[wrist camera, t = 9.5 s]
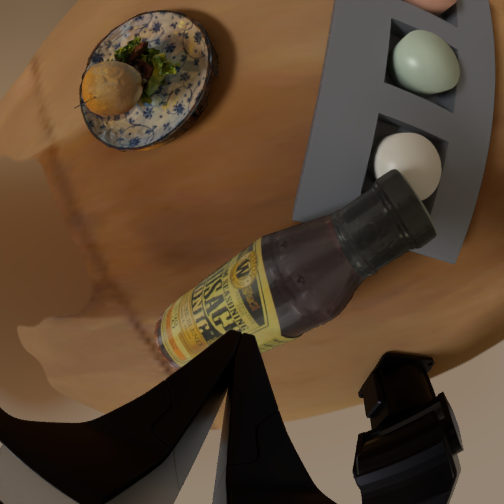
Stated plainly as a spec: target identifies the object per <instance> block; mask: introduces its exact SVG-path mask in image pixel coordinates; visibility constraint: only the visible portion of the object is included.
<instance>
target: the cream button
mask: <svg viewBox="0 0 504 504" xmlns="http://www.w3.org/2000/svg"><path fill="white" fill-rule="evenodd" d="M368 166H369V171H370V174H371V176H372V178H373V179H374V181H376V179H378V178H379V177H381V176H382V175H384V174H385V173H387V172H389V171H390V170H393V169H397V170H398V171H399V172H401V174H403V175H404V177H405V178H406V179H407V181H408V182H409V183H410V185H411V186H412V188H413V189H414V191H415V192H416V194H417V195H418V197H419V198H420V200H421V201H422V200H424V199H426V198H427V197H429V196H430V195H431V194H432V193H433V192H434V191H435V189H436V188H437V186H438V184H439V181H440V177H441V161H440V157H439V154H438V152H437V150H436V148H435V147H434V145H433V144H432V143H431V142H430V141H429V140H428V139H427V138H425V137H424V136H422V135H419V134H416V133H393V134H387V135H384V136H382V137H380V138H379V139H377V140H376V141H375V142H374V144H373V145H372V148H371V152H370V157H369V161H368Z"/></svg>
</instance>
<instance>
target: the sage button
mask: <svg viewBox="0 0 504 504" xmlns="http://www.w3.org/2000/svg"><path fill="white" fill-rule="evenodd" d="M387 65H388V70H389V72H390V75H391V77H392V78H393V80H394V81H395V83H396V84H397V85H398V86H399V87H400V88H401V89H403V90H405V91H407V92H410V93H412V94H414V95H417V96H419V97H425V96H429V95H432V94H436V93H439V92H443V91H446V90H449V89H452V88H453V87H454V86H455V85H456V84H457V82H458V80H459V76H460V69H459V63H458V60H457V58H456V56H455V54H454V52H453V50H452V49H451V48H450V46H449V45H448V44H447V43H446V42H445V41H444V40H443V39H442V38H440V37H439V36H437V35H436V34H434V33H431V32H429V31H425V30H414V31H412V32H410V33H408V34H407V35H406V36H405V37H404V38H403V39H402V40H401V41H400V42H398V43H397V44H396V45H395V46H394V47H393V48H392V49H391V50H390V52H389V54H388V58H387Z"/></svg>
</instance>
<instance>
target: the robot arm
mask: <svg viewBox="0 0 504 504" xmlns="http://www.w3.org/2000/svg"><path fill="white" fill-rule="evenodd" d="M386 358H387V359H386ZM433 364H434V360H433V358H427V357H417V356H408V355H400V354H392V353H386V354H384V355H383V356H382V357H381V359H380V360H379V362H378V364H377V365H376V367H375V368H374V370H373V371H372V372H371V373H370V375H369V377H368V378H367V380H366V381H365V383H364V384H363V385H362V388H361V389H360V391H359V392H358V395H359V397H360V398H364V405H365V411H366V416H367V418H370V420H371V428H372V430H370V431H368V432H363V433H360V434H359V435H358V441H357V446H356V453H355V459H354V465H353V474H354V479H355V481H356V483H357V486H358V487H359V488H360V490H361V495H362V504H449V502H450V499H451V497H452V494H453V492H454V489H455V486H456V483H457V480H458V477H459V474H460V471H461V467H460V463H459V459H458V456H457V453H459V452H461V451H463V445H462V440H461V435H460V431H459V427H458V424H457V421H456V418H455V415H454V413H453V410H452V408H451V406H450V404H449V402H448V401H447V398H446V396H445V394H444V393H443V392H442V393H440V394H438V396H437V397H436V396H435V393H434V390H433V387H432V385H431V382H430V379H429V377H428V374H427V373H428V371H429V370H430V369H431V367H432V366H433ZM227 389H228V391H227ZM226 392H227V397H226V404H225V411H224V418H223V426H222V434H221V441H220V449H219V456H218V464H217V472H216V480H215V487H214V494H213V502H212V504H337V503H335V502H334V501H332V500H331V499H330V498H328V497H327V496H325V495H324V494H323V493H322V492H321V491H320V490H319V489H318V488H317V487H316V485H315V484H314V483H313V481H312V479H311V478H310V476H309V474H308V472H307V471H306V469H305V467H304V465H303V463H302V461H301V459H300V457H299V456H298V454H297V452H296V450H295V448H294V446H293V444H292V442H291V440H290V438H289V436H288V434H287V431H286V428H285V426H284V423H283V421H282V418H281V415H280V412H279V411H278V410H279V409H278V406H277V403H276V400H275V397H274V394H273V391H272V388H271V384H270V381H269V378H268V375H267V372H266V369H265V366H264V363H263V360H262V356H261V353H260V350H259V347H258V344H257V341H256V337H255V336H254V335H253V334H248V333H243V334H242V332H240V331H236V330H232V329H230V330H229V331H227V332H226V333H225V334H224V335H222V336H221V337H220V338H219V339H217V340H216V341H215V342H213V343H212V344H211V345H210V346H208V347H207V348H206V349H205V350H203V351H202V352H201V353H199V354H198V355H197V356H196V357H194V358H193V359H192V360H190V361H189V362H188V363H186V364H185V365H184V366H182V367H181V368H180V369H178V370H177V371H176V372H174V373H173V374H172V375H170V376H169V377H168V378H166V379H165V380H164V381H162V382H161V383H159V384H158V385H157V386H155V387H154V388H152V389H151V390H149V391H148V392H146V393H145V394H143V395H142V396H140V397H138V398H136V399H135V400H133V401H131V402H129V403H127V404H125V405H123V406H121V407H119V408H117V409H115V410H113V411H111V412H109V413H107V414H105V415H103V416H101V417H99V418H97V419H94V420H92V421H87V422H82V423H55V422H37V421H27V420H21V419H18V418H14V417H12V416H11V415H9V414H7V413H6V412H5V411H4V410H2V409H1V408H0V442H1V443H2V444H3V445H2V446H1V448H0V504H174V502H175V500H176V498H177V496H178V493H179V491H180V490H181V488H182V486H183V484H184V482H185V480H186V478H187V476H188V474H189V472H190V470H191V468H192V465H193V463H194V461H195V459H196V457H197V455H198V453H199V451H200V449H201V447H202V445H203V443H204V440H205V438H206V436H207V434H208V432H209V430H210V428H211V425H212V423H213V421H214V419H215V417H216V415H217V412H218V410H219V408H220V406H221V404H222V401H223V399H224V397H225V395H226Z"/></svg>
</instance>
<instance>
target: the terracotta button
mask: <svg viewBox="0 0 504 504" xmlns="http://www.w3.org/2000/svg"><path fill="white" fill-rule="evenodd" d="M402 1H404V2H407V3H409V4H411V5H414V6H416V7H418V8H420V9H422V10H425V11H427V12H429V13H431V14H433V15H435V16H437V17H438V16H439V15H441V14H442V13H443V12H444V11H446V10H447V9H448V8H450V7H451V6H452V5H453V4H455V3H456V2H457V0H402Z"/></svg>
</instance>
